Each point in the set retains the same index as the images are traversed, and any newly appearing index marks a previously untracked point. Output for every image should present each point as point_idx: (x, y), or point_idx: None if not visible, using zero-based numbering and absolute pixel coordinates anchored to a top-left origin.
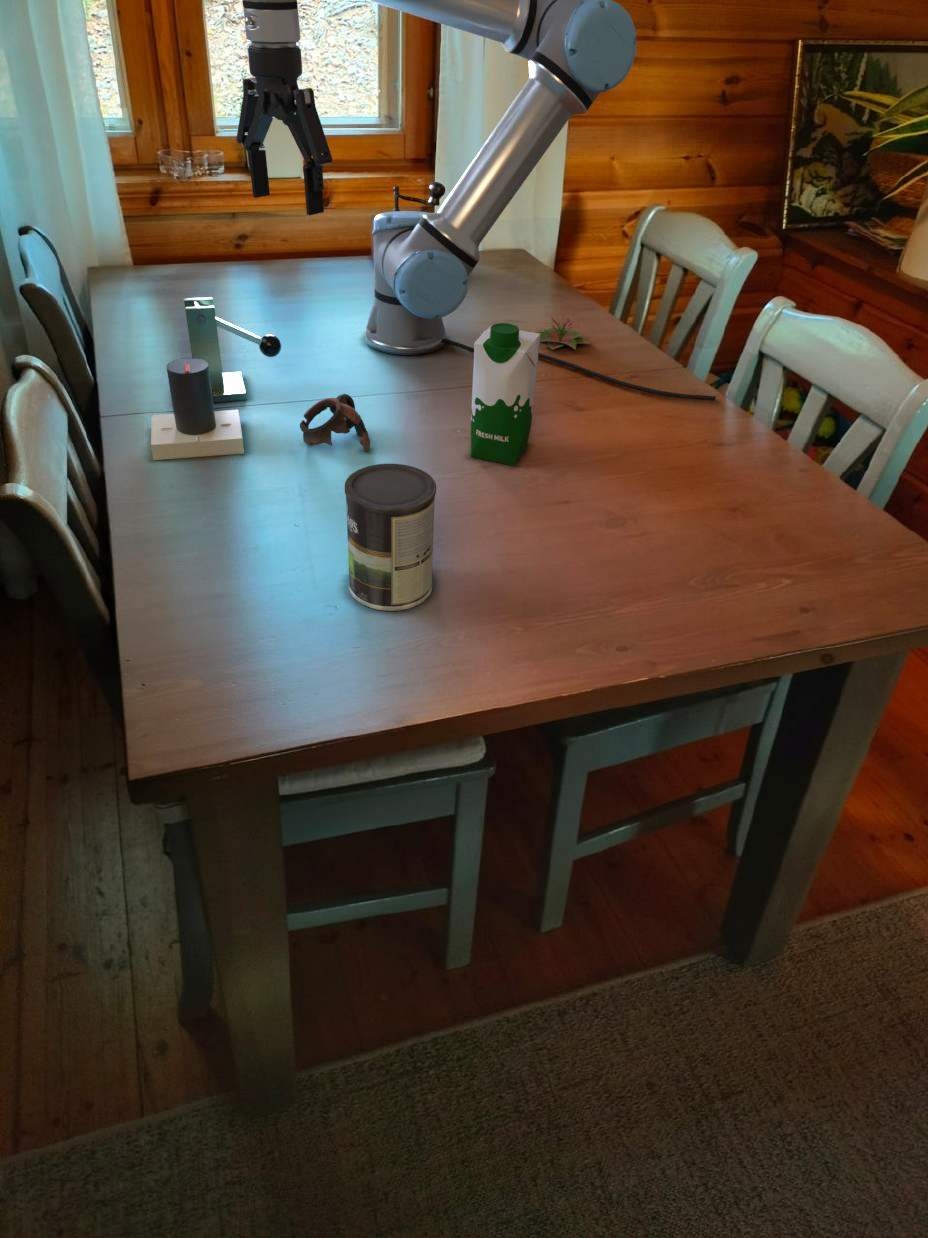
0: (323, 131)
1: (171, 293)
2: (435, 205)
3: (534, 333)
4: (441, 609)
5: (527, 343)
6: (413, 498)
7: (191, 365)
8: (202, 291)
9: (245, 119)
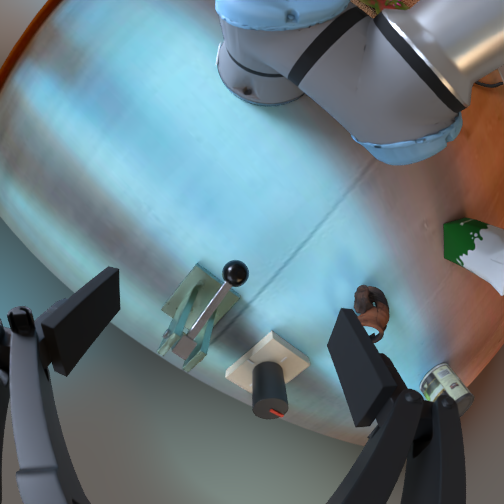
0: (464, 467)
1: (14, 160)
2: None
3: None
4: (453, 371)
5: None
6: (466, 407)
7: (273, 407)
8: (24, 134)
9: (3, 429)
